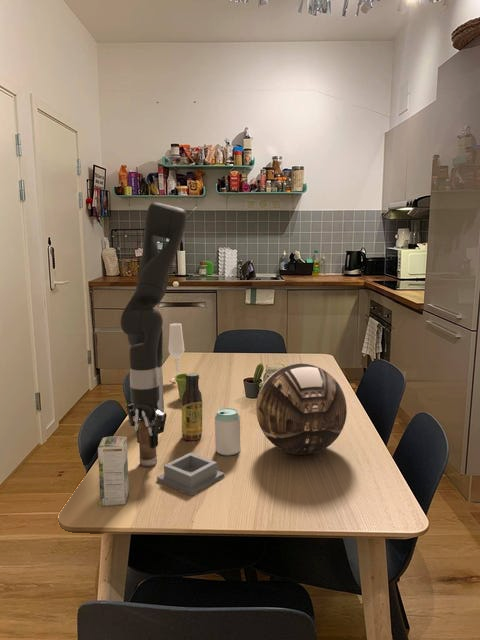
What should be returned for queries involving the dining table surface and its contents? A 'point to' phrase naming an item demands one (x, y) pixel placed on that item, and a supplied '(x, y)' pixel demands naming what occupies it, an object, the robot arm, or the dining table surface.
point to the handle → (146, 446)
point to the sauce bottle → (192, 408)
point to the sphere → (301, 409)
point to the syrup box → (113, 470)
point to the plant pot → (181, 383)
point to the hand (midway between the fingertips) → (147, 444)
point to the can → (227, 431)
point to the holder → (190, 473)
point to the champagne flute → (176, 343)
